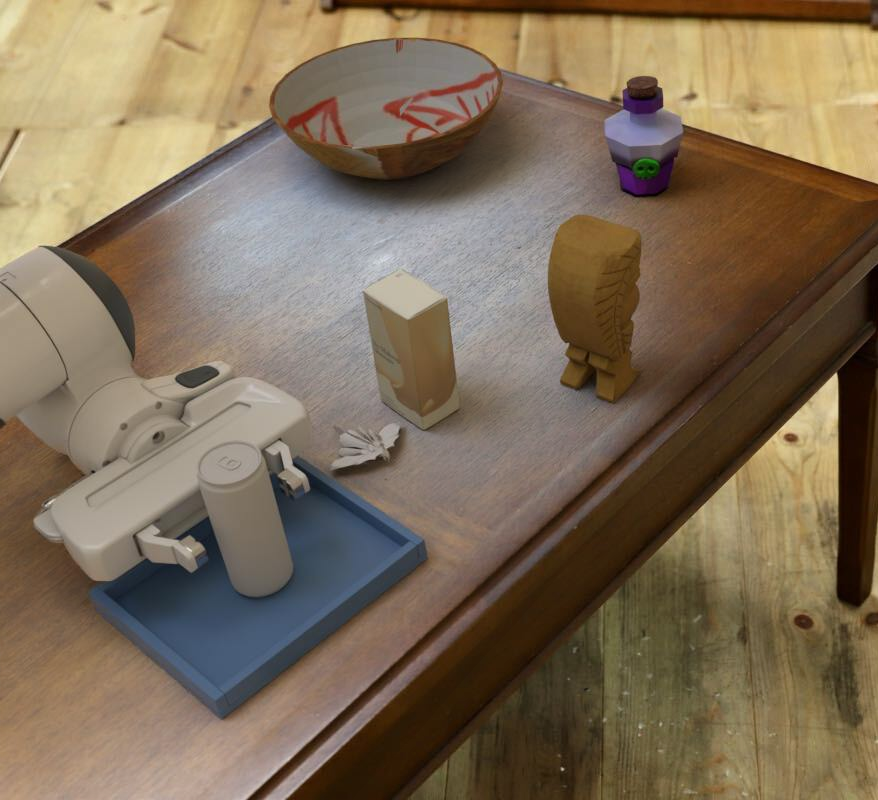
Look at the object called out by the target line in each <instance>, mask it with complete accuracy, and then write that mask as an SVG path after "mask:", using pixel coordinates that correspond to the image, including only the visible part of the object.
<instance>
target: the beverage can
mask: <svg viewBox="0 0 878 800" xmlns="http://www.w3.org/2000/svg"><path fill="white" fill-rule="evenodd" d="M196 469H197V479H198V483H199V486H200V490H201V493H202V496H203V499H204V502H205V505H206V508H207V512H208V515H209V518H210V521H211V524H212V527H213V530H214V533H215V536H216V539H217V542H218V545H219V548H220V551H221V553H222V556H223V559H224V562H225V565H226V568H227V571H228V574H229V577H230V581H231V584H232V585H233V587H234V588H235V590H237V591H238V592H239V593H241V594H243V595H246V596H249V597H264V596H268V595H271V594H273V593H275V592H277V591H279V590H280V589H281V588H282V587H284V586H285V584H286V583H287V582H288V581H289V579H290V578H291V575H292V573H293V562H292V558H291V555H290V551H289V547H288V544H287V540H286V536H285V533H284V529H283V525H282V521H281V518H280V514H279V510H278V507H277V503H276V499H275V495H274V492H273V488H272V484H271V481H270V477H269V473H268V470H267V466H266V462H265V459H264V457H263V456H262V455H261V451H260V450H259V449H258V447H257V446H255V445H254V444H252V443H250V442H247V441H241V440H233V441H226V442H222V443H219V444H217V445H215V446H213V447H211V448H209V449H208V450H207V451H205V452H204V453H203V454H202V455H201V456H200V458H199V460H198V462H197V467H196Z"/></svg>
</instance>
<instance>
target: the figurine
mask: <svg viewBox="0 0 878 800" xmlns="http://www.w3.org/2000/svg"><path fill="white" fill-rule="evenodd" d="M551 245H552V246H551V249H550V254H549V259H548V265H547V290H548V291H547V292H548V300H549V306H550V309H551V314H552V317H553V322H554V324H555V327H556V329H557V333H558V335H559V337H560V339H561V341H562V342H563V343H565V344H568V346H567V348H566V350H565V354H564V356H565V357H566V358H568V359H569V360H568V362H567V364H566V365H565V368H564V370H563V373H562V375H561V376H560V379H559V383H560V384H561V385H563V386H564V387H568V388H570V389H573V390H575V391H577V390H579V389H580V388H581V387H582V386H583V385H584V384H585V383H586V382H587V381H588V380H589V378H591V376H592V375H593V374H594V373H595V372H596V385H595V397H596V398H597V399H598V400H599V399H600V400H602V401H605V402H607V403H609V404H615V403H616V402H617V401H618V400H619V399H620V398H621V397H622V396H623V394H625V392H626V391H627V390H628V389H629V388H630V387H631V385H632V384H633V383H634V382H635V380H636V379H637V378H638V377H639V376H640V375H641V370H640V369H638V368H635V367H631V362H632V356H633V351H632V350H631V349H630V348H631V347H632V342H633V335H634V329H635V327H634V326H635V322H634V321H633V320H632V317H633V315H634V314H635V312H636V310H637V308H638V305H639V303H640V300H641V297H640V296H641V295H640V294H641V293H640V289H639V286H638V285H637V284H636V283H637V282H638V280H639V279H640V277H641V276H642V275H641V274H642V273H641V268H640V264H641V258H642V234H641V233H640V232H639V231H638V230H637V229H633V228H631V227H629V226H625V225H622V224H618V223H616V222H615V223H614V222H611V221H608V220H605V219H602V218H599V217H596V216H592V215H588V214H575V215H572V217H569V219H567V220H565V221H564V222H562V223H561V224H560V225H559V227H558V229H557V230H556V233H555V236H554V238H553V242H552V244H551Z"/></svg>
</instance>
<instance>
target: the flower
mask: <svg viewBox="0 0 878 800" xmlns="http://www.w3.org/2000/svg"><path fill="white" fill-rule="evenodd" d="M402 422H403V420H400V421H395V422H392V423H389V424H387V425H385V426H384V427H383V428H382V429H381V430H380V431H379V432H378V434H379V437H381V440H379V438H378V437H377V435H376V433H375V432H374V430H373V429H368V433H369V435H370V436H371V437H372V438H371V437H370V436H369V435H368V433H367V432H366V430H365V429H364V428H363V427H361V426H359V425H358V426H357V429H358V430H359V431H360V432H361V433H362V434H363V435H365V436H366V437H367V438H368V439H369V440H368V439H367V438H366V437H363V436H362V435H361V434H360V433H359V432H357V431H355V430H352V429H348V430H347V431H344V430H343V429H342V428H340V427H339V426H336V425H333V426H331V428H332V429H333V430H334V431H335V432H336V433H337V434H339V439H338V442H339V444H340V445H341V446H343V447H342V448H339V450H338V451H337V454H338V455H339V456H341V457H340V458H338V459H336V460H334V461H333V462H332V463H331V465H330V466H329V471H334V470H337V469H340V468H341V469H342V468H345V467H348V466H353V465H354V466H356V465H357V466H358V465H360V464H362V463H364V462H366V461H370V460H373V461H375V460H376V459H377V458H378V457H381V458H383V460H388V461H387V462H388V463H391V461H390V459H391V456H390V452H389V451H388V449H390V448H391V447H395V441H396V440H397V439H398V438H399V437H400V436H401V434H399V431H400V427H401V425H402Z"/></svg>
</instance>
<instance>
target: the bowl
mask: <svg viewBox="0 0 878 800" xmlns="http://www.w3.org/2000/svg"><path fill="white" fill-rule="evenodd" d="M503 81H504V80H503V74H502V72H501V70H500V69H499V67H498V65H497V64H496V62H494V61H493V60H492V59H491V58H490V57H488V56H487V54H484V53H483V52H481V51H478V50H476V49H475V48H473V47H470V46H467V45H464V44H461V43H459V42H454V41H450V40H444V39H438V38H427V37H388V38H380V39H378V38H377V39H371V40H365V41H361V42H355V43H351V44H348V45H344V46H341V47H336V48H333V49H330V50H328V51H325V52H323V53H320V54H318V55H317V54H316V55H315V56H313V57H311V58H309V59H307V60H305V61H303V62H301V63H299V64H298V65H297V66H295V67H294V68H292V69H291V70H290V71H288V72H287V73H285V74H284V76H283V77H281V79H280V80H278V82H277V83H276V84H275V86H274V88H273V89H272V92H271V93H270V95H269V102H268V109H269V110H270V115H271V117H272V119H273V120H274V121H275V123H276V124H277V125H278V126H279V128H280V129H281V130H282V131H283V132H284V134H285V135H286V136H287V137H288V138H289V139H290V141H292V142H293V143H294V144H295V146H297V148H299V149H300V150H302V151H303V152H304V153H306V154H307V155H308V156H310V157H311V158H313V159H314V160H316V161H317V162H319V163H321V164H323V165H325V166H327V167H328V168H331V169H333V170H335V171H337V172H340V173H343V174H347V175H351V176H356V177H362V178H366V179H372V180H373V179H375V180H381V181H383V180H402V179H408V178H413V177H415V176H418V175H422V174H425V173H426V172H429V171H430V170H432V169H435V168H437V167H439V166H440V165H441V166H442V165H443V164H446V163H447V162H449V161H450V160H452V159H453V158H455V157H457V156H458V155H459V154H461V153H462V152H463V151H464V150H465V149H466V148H467V147H469V145H470V144H471V143H472V142H473V141H474V140H475V139H476V138H477V137H478V136H479V134H480V133H481V131H482V130H483V129H484V128H485V126H486V124H487V122H488V121H489V120H490V117H491V116H492V115H493V112H494V110H495V108H496V106H497V103H498V102H499V99H500V96H501V92H502V88H503V85H504V82H503Z"/></svg>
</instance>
